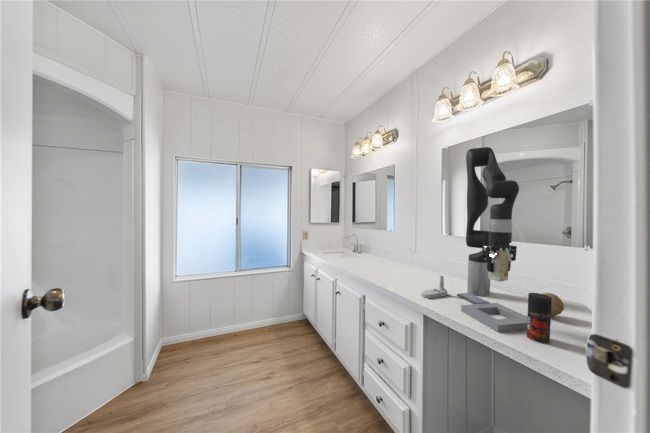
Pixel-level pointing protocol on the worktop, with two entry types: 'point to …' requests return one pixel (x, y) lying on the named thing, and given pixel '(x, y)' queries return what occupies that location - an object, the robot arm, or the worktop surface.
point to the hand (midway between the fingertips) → (498, 271)
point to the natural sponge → (555, 304)
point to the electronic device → (435, 291)
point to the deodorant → (539, 317)
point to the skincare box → (500, 266)
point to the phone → (472, 298)
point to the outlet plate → (500, 325)
